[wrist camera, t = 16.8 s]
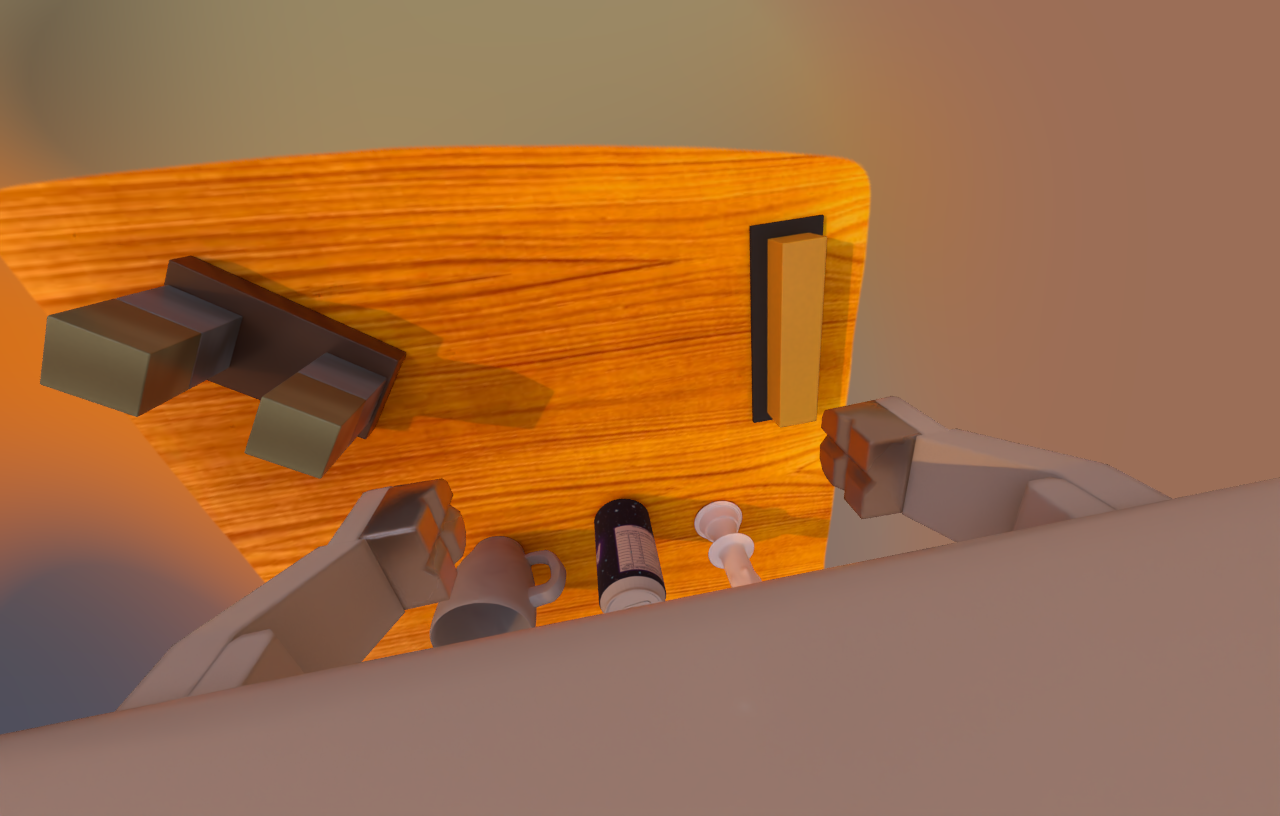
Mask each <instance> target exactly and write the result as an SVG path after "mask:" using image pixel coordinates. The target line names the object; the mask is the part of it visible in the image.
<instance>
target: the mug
mask: <svg viewBox="0 0 1280 816" xmlns="http://www.w3.org/2000/svg"><path fill="white" fill-rule="evenodd" d="M539 563H543V564H547V565H549V567H550V570H551V578H550V580H549V581H548V582H547V583H545V584H542V585H538V586H535V582H534V577H533V574H532V570H531V566H532V565H534V564H539ZM456 570H457V573H458V574H457V577H456V580H455V583H454V587H453V590H452V593H451V596H450V600H446V601H442V602H439V603H438V606H437V608H436V611H435V614H434V617H433V620H432V624H431V629H430V640H431V643H432V645H433V647H439V646H444V645H449V644H454V643H459V642H464V641H469V640H474V639H479V638H484V637H489V636H494V635H499V634H504V633H509V632H514V631H519V630H524V629H529V628H534V627H536V607H538V606H541V605H544V604H548V603H551V602H553V601H555V600H556V599H557V598H558V597H559V596H560V594H561V593H562V591H563V589H564V586H565V581H566V570H565V568H564V566H563V564H562V563H561V561H560V560H559V559H558V557H557V556H556V555H555V554H554V553H553V552H551V551H548V550H543V551H536V552H531V553H528V554H526V555H525V553H524V550H523V548H522V546H521V545H520V544H519V543H518V542H516V541H515V540H513V539H511V538H508V537H502V536H495V537H490V538H486V539H484V540H482V541H481V542H479V543H478V544H477V545H476V547H475V548H474V550H473V551H472V552H471V553H470V554H469V555H468V556H467V557H466V558H465V559H464V560H463V561H462V562H461V563H460V565H459V566H458V567H457V569H456Z"/></svg>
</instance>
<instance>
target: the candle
mask: <svg viewBox="0 0 1280 816" xmlns="http://www.w3.org/2000/svg"><path fill="white" fill-rule="evenodd" d="M741 521H742V512H741V510H740V508H739V507H738V506H737V505H735V504H734V503H732V502H728V501H717V502H713V503H710V504H708V505H706V506H705V507H704V508H702V509H701V510H700V511H699V513H698V514H697V516H696V518H695V523H694V525H695V529H696V531H697V533H698V534H699V535H700V536H702V537H703V538H706V539H708V540H709V541H711V542H714V543H713V544H712V545H711V547H710V549H709V553H708V556H709V560H710V562H711V563H712V564H713V565H715V566H716V567H719V568H723V569H725V571H726V574H727V576H728V579H729V581H730V584H731V587H732V588H733V587H738V586H742V585H747V584H752V583H757V582H762V581H761V578H760V577H759V576H758V575H757V574H756V573H755V571H754V569H753V567H752V565H751V562H750V560H749V558H750V557H751V555H752V554H753V551H754V543H753V541H752V539H751V538H750V537H748V536H747V535H745V534H741V533H738V530H739V526H740V524H741Z"/></svg>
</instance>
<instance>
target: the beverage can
mask: <svg viewBox="0 0 1280 816" xmlns="http://www.w3.org/2000/svg"><path fill="white" fill-rule="evenodd" d="M594 525H595V542H596V559H597V576H598V593H599V605H600V608H601V610H602V611H603V613H609V612H614V611H619V610H624V609H629V608H634V607H639V606H644V605H649V604H654V603H659V602H664V601H665V599H666V590H665V585H664V581H663V576H662V572H661V567H660V563H659V558H658V554H657V549H656V545H655V540H654V536H653V531H652V527H651V523H650V518H649V514H648V511H647V509H646V508H645V507H644V506H643V505H642V504H641V503H639V502H637V501H635V500H631V499H617V500H613V501H611V502H609V503H607V504H605V505H604V506H602V507H601V508H600V509H599V511H598V512H597V514H596V516H595V520H594Z"/></svg>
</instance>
